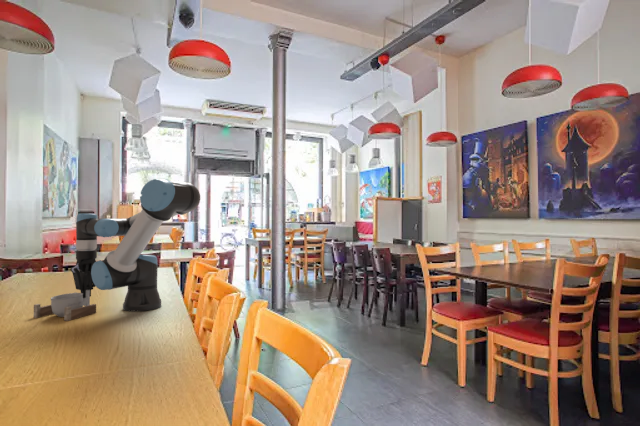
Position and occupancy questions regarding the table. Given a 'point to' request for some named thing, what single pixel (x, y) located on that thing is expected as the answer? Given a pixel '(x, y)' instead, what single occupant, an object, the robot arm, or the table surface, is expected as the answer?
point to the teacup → (66, 302)
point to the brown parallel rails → (65, 311)
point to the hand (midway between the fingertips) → (85, 305)
